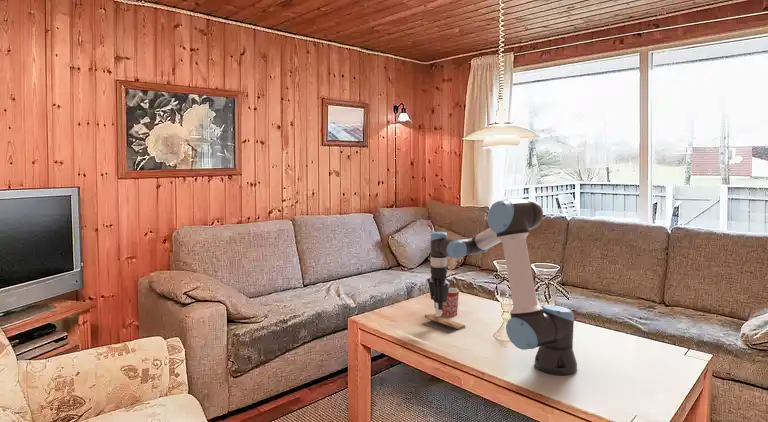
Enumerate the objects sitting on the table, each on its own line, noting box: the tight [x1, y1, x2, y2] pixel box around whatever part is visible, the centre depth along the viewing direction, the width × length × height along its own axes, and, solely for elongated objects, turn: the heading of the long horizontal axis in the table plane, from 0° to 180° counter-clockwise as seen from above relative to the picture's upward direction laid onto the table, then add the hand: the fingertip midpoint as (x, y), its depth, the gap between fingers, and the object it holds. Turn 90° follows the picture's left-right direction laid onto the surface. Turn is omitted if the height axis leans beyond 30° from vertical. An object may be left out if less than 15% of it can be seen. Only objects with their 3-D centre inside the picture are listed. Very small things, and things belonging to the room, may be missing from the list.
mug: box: [442, 287, 460, 318], centre depth 249 cm, size 13×9×14 cm
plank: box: [424, 314, 460, 329], centre depth 232 cm, size 17×6×1 cm, turn 40°
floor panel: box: [421, 316, 467, 334], centre depth 233 cm, size 18×11×2 cm, turn 40°
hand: (438, 315), depth 230 cm, fingers closed
